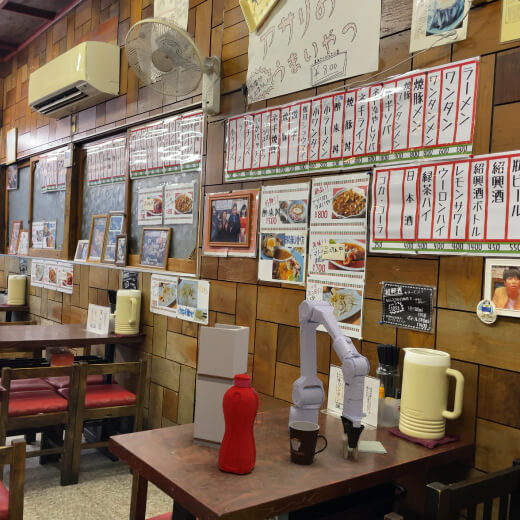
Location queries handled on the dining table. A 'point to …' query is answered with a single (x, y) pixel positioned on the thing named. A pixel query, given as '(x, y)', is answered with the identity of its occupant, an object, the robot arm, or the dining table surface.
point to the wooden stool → (345, 447)
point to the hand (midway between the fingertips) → (350, 444)
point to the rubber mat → (369, 447)
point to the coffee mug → (304, 442)
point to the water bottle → (239, 426)
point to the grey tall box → (217, 378)
